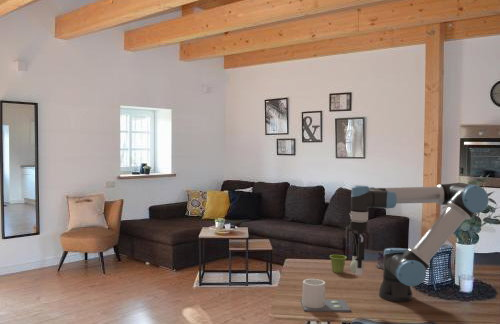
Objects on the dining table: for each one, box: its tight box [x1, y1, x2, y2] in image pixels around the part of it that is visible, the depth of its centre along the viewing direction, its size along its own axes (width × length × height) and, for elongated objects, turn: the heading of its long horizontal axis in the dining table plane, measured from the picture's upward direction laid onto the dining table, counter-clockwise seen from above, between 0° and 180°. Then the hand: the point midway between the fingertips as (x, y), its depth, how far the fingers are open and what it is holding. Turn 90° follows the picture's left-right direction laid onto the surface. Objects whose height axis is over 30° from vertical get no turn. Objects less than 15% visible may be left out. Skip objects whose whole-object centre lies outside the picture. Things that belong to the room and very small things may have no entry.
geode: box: [376, 251, 384, 270], centre depth 276 cm, size 20×12×10 cm, turn 129°
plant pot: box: [329, 254, 348, 274], centre depth 262 cm, size 9×9×9 cm
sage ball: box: [349, 260, 365, 274], centre depth 206 cm, size 6×6×6 cm
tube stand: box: [300, 278, 351, 313], centre depth 206 cm, size 20×13×11 cm, turn 91°
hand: (356, 272), depth 206 cm, fingers closed on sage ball, 6 cm apart
